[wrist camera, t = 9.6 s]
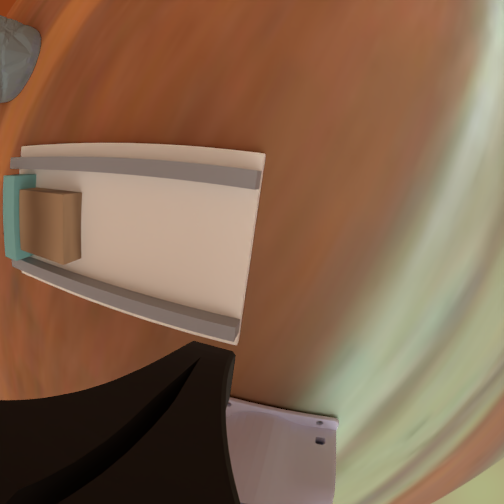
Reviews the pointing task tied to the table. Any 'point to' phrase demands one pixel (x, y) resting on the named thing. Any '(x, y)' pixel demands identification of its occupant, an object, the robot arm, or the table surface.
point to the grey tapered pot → (16, 56)
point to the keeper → (50, 223)
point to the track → (149, 229)
